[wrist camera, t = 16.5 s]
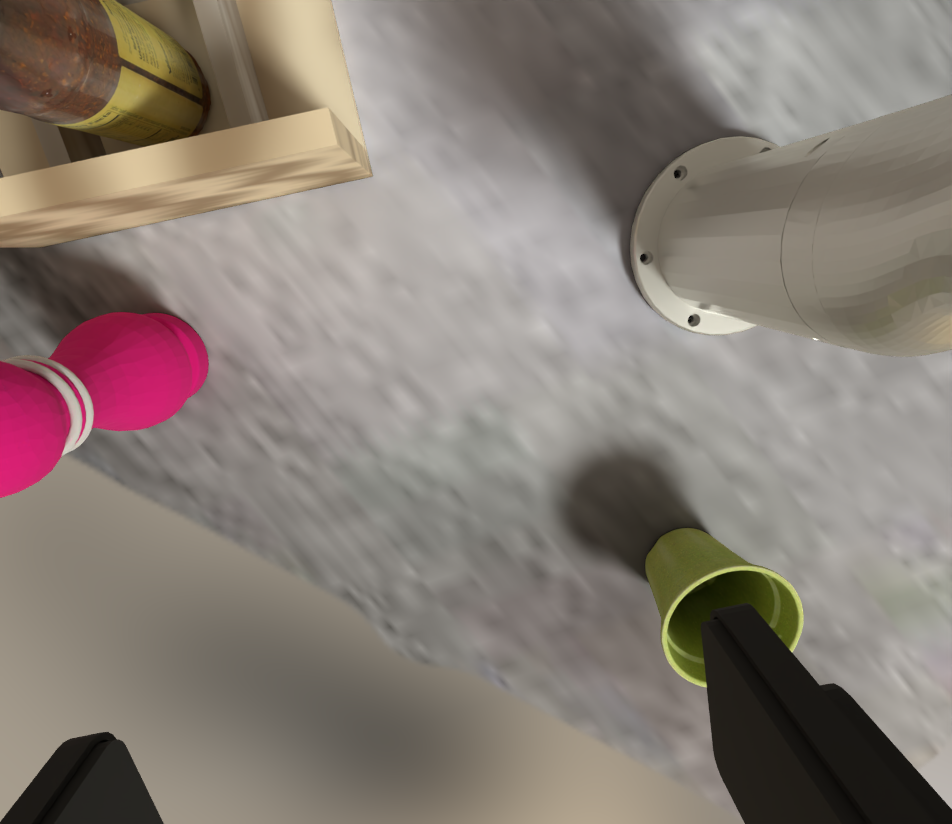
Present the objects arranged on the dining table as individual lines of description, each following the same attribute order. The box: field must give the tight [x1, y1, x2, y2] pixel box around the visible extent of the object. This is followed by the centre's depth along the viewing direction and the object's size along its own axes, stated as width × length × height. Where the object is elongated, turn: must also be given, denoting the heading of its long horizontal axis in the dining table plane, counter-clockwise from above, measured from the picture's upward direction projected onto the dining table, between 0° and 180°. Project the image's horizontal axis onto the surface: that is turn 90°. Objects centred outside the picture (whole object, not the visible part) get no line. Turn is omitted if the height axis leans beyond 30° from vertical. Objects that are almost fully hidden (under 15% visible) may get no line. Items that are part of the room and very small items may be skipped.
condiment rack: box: [0, 0, 373, 248], centre depth 29 cm, size 22×13×12 cm, turn 101°
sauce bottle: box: [0, 0, 211, 147], centre depth 24 cm, size 7×6×20 cm
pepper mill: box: [0, 312, 209, 498], centre depth 30 cm, size 7×7×20 cm
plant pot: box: [645, 528, 803, 688], centre depth 41 cm, size 9×9×9 cm
